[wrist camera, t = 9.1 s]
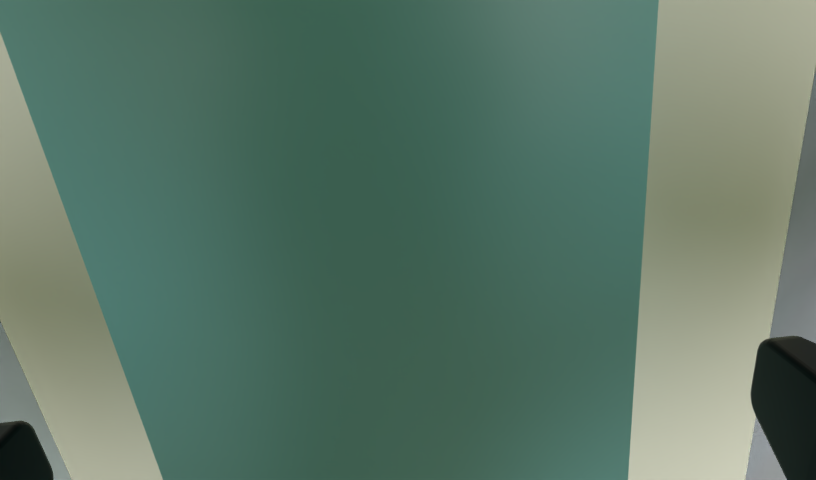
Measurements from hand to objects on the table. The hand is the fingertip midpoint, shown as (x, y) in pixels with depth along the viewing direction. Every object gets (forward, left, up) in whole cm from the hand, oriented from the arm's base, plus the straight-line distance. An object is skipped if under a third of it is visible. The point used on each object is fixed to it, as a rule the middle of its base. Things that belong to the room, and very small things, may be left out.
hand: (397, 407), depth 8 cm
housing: (0, 0, -4) cm, 5 cm away
